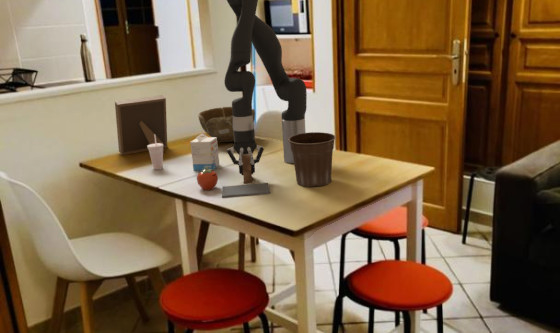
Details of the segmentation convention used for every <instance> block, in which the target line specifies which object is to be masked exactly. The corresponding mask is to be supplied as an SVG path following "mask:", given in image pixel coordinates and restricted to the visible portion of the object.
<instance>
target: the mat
mask: <svg viewBox="0 0 560 333" xmlns="http://www.w3.org/2000/svg"><path fill="white" fill-rule="evenodd" d="M269 194H271V191H270V185H269V182H260V183H249V184H248V183H247V184H239V185H238V184H237V185H236V184H235V185H228V186H226V185H224V186H222V190H221V198H223V199H224V198H233V197H244V196H259V195H269Z"/></svg>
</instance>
